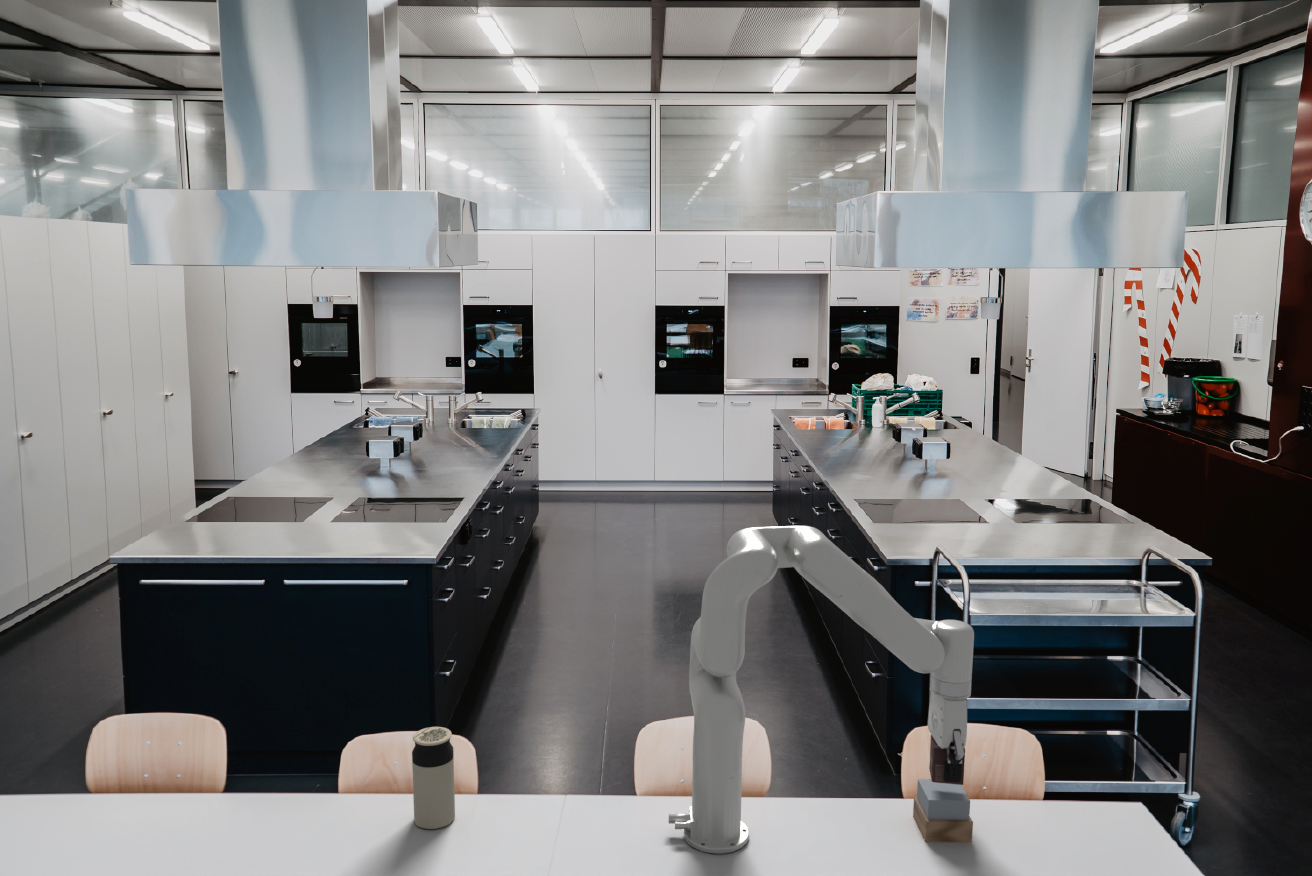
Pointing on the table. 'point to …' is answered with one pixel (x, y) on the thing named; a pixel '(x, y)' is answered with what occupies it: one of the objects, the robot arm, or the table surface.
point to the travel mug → (433, 778)
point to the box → (941, 763)
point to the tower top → (943, 800)
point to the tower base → (942, 827)
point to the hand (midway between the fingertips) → (946, 770)
